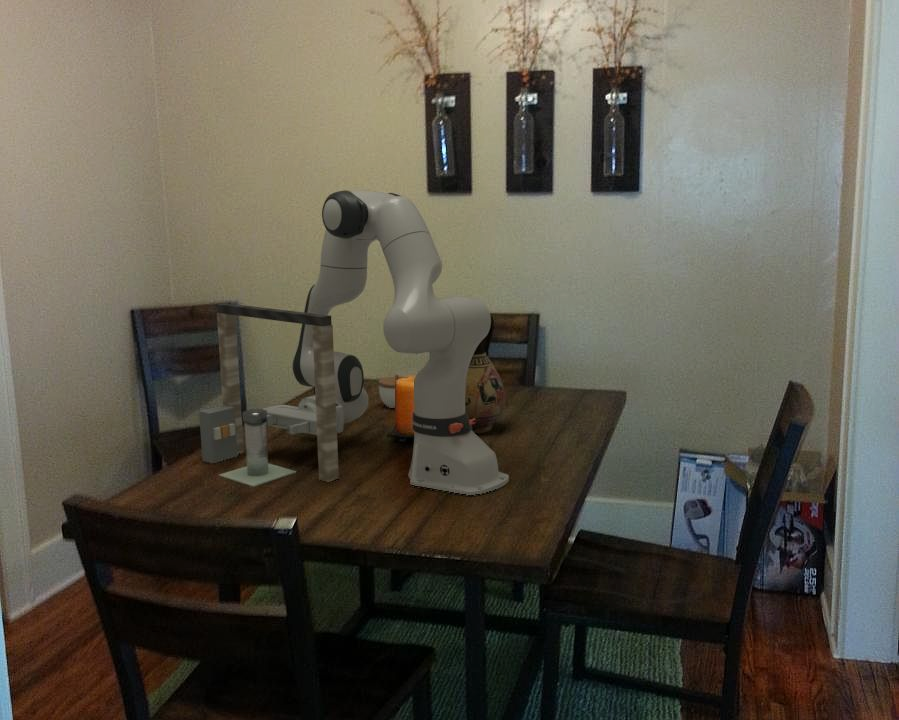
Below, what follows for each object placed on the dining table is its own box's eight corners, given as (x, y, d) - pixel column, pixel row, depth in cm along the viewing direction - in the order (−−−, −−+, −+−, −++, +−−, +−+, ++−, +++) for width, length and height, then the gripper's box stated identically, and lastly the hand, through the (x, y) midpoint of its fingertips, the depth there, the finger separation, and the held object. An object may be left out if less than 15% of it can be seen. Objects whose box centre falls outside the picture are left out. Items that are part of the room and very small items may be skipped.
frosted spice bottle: (274, 472, 197) (271, 411, 195) (256, 478, 194) (252, 416, 191) (259, 467, 201) (256, 407, 198) (241, 473, 197) (237, 412, 194)
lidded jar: (393, 413, 249) (392, 380, 247) (371, 406, 257) (370, 374, 255) (423, 406, 255) (423, 375, 254) (401, 400, 264) (400, 369, 262)
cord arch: (338, 479, 193) (332, 315, 186) (328, 483, 191) (321, 317, 184) (236, 450, 215) (226, 303, 208) (225, 453, 213) (216, 304, 206)
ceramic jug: (482, 440, 220) (482, 321, 215) (434, 431, 230) (432, 316, 224) (520, 425, 234) (520, 313, 228) (472, 417, 243) (471, 308, 237)
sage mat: (296, 472, 198) (296, 471, 198) (253, 486, 189) (253, 485, 189) (262, 462, 205) (262, 461, 205) (219, 475, 196) (218, 474, 196)
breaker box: (239, 457, 210) (236, 408, 208) (214, 464, 205) (211, 414, 202) (227, 453, 213) (224, 405, 211) (202, 460, 208) (199, 411, 205)
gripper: (283, 395, 216) (240, 407, 205) (347, 406, 205) (306, 419, 193) (284, 421, 217) (242, 434, 206) (348, 433, 206) (307, 447, 195)
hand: (273, 427), depth 200 cm, fingers open, 8 cm apart
